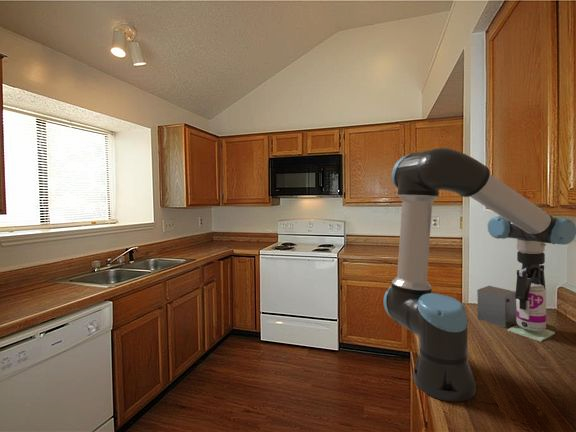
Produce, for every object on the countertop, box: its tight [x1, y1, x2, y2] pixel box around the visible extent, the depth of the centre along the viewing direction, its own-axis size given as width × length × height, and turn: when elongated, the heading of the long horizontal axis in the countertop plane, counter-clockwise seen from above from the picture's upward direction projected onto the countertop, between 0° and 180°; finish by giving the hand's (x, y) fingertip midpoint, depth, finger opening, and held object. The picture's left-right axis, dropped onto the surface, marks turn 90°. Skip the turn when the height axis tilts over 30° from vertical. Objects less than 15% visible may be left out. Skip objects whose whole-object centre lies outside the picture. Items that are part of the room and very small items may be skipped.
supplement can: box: [516, 283, 547, 331], centre depth 108 cm, size 8×8×15 cm
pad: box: [507, 323, 556, 342], centre depth 109 cm, size 10×10×1 cm
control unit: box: [476, 285, 517, 329], centre depth 119 cm, size 8×10×12 cm
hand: (530, 314), depth 109 cm, fingers closed on supplement can, 8 cm apart
